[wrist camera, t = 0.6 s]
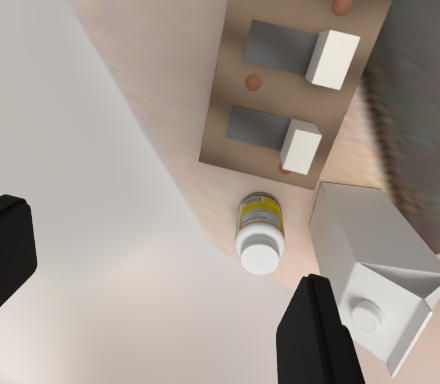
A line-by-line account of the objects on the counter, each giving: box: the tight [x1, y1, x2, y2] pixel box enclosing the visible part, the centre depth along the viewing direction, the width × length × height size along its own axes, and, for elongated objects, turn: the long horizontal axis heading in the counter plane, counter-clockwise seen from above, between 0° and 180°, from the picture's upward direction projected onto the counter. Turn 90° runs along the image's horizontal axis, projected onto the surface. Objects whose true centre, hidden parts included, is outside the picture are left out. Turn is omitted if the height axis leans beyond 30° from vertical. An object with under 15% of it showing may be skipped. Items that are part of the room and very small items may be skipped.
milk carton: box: [309, 182, 440, 377], centre depth 28 cm, size 7×7×19 cm
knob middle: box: [305, 30, 360, 90], centre depth 25 cm, size 4×2×4 cm, turn 168°
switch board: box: [199, 0, 392, 190], centre depth 28 cm, size 27×14×2 cm, turn 168°
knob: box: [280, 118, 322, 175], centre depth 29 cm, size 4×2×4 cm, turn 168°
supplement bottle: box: [235, 193, 285, 275], centre depth 34 cm, size 6×6×10 cm
